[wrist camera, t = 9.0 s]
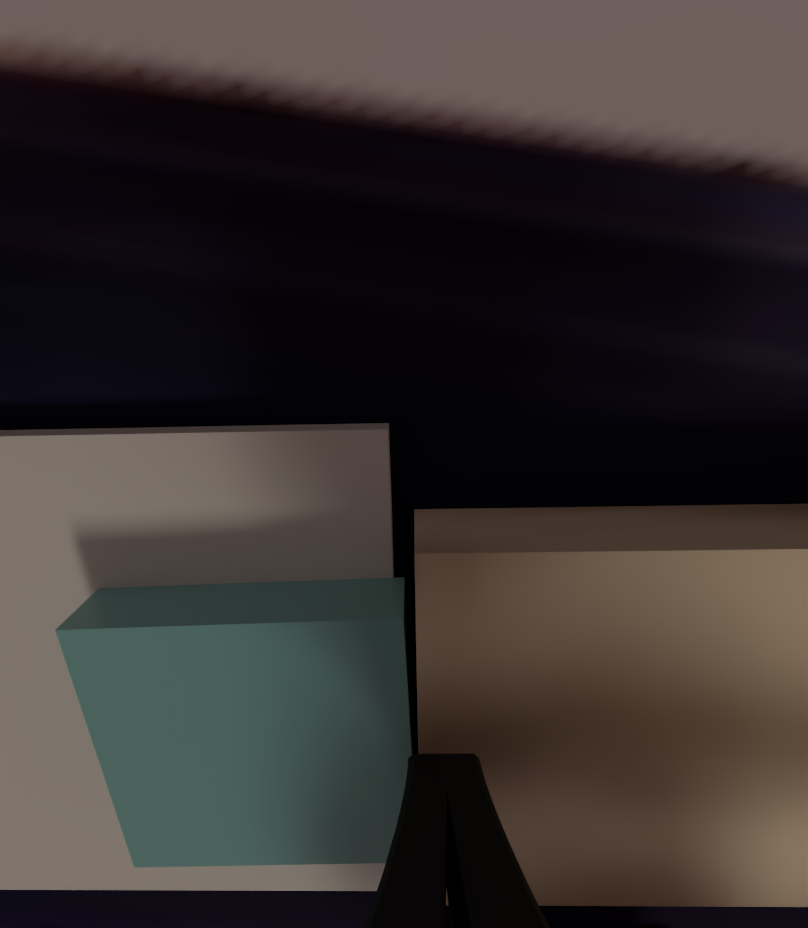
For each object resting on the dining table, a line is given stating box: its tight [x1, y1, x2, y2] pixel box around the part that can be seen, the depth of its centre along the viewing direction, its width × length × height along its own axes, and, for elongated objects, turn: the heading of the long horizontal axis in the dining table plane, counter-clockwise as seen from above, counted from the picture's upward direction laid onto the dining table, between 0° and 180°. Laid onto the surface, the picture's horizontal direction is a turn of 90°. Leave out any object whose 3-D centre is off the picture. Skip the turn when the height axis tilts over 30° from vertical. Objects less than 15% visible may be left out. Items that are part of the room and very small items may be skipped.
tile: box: [55, 577, 415, 867], centre depth 12 cm, size 7×7×2 cm
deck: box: [414, 504, 808, 907], centre depth 12 cm, size 10×16×2 cm, turn 91°
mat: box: [0, 423, 394, 891], centre depth 13 cm, size 14×20×1 cm
